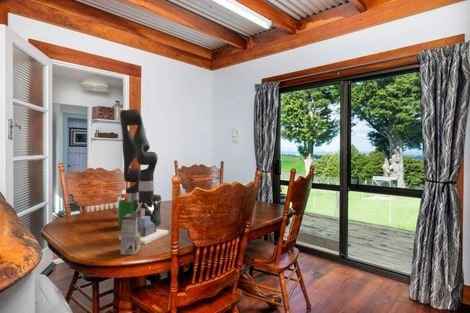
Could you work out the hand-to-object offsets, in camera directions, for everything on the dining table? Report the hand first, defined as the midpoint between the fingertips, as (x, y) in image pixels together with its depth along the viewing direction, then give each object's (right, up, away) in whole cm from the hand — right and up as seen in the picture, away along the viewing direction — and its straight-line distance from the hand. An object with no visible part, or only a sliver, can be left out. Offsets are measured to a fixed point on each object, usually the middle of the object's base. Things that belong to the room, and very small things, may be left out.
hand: (145, 220), depth 144 cm
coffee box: (0, -9, -21) cm, 23 cm away
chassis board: (0, -9, 0) cm, 9 cm away
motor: (-16, -8, +15) cm, 24 cm away
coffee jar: (-3, -9, +24) cm, 25 cm away
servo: (0, -7, 0) cm, 7 cm away
